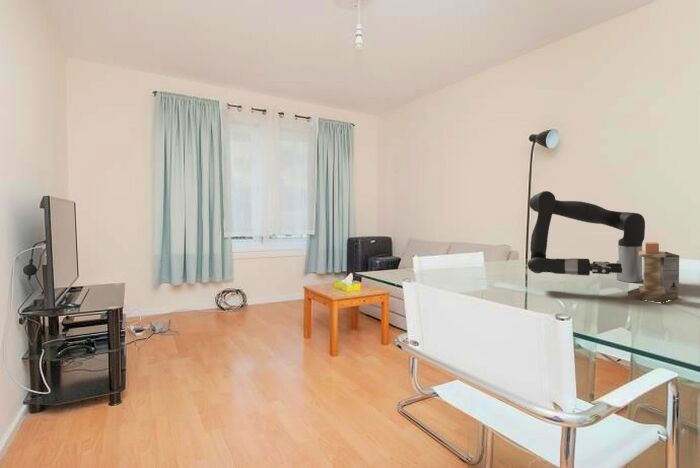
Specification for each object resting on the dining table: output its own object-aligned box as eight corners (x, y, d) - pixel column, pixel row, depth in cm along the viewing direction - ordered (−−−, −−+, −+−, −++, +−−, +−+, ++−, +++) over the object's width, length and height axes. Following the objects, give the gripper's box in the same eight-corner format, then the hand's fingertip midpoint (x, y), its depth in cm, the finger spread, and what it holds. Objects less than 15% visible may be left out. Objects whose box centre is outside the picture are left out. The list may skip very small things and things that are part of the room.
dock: (627, 297, 154) (627, 290, 154) (643, 292, 159) (643, 285, 159) (661, 304, 143) (661, 296, 143) (677, 298, 148) (677, 291, 148)
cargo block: (646, 253, 149) (645, 243, 148) (645, 251, 152) (645, 242, 151) (658, 253, 146) (658, 243, 146) (657, 252, 150) (657, 242, 149)
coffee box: (649, 287, 165) (649, 252, 164) (666, 286, 164) (666, 251, 163) (662, 292, 157) (662, 255, 155) (680, 292, 155) (680, 255, 154)
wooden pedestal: (640, 292, 150) (640, 254, 148) (638, 287, 156) (638, 251, 155) (665, 294, 145) (665, 254, 144) (663, 289, 152) (663, 251, 150)
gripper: (575, 261, 159) (622, 262, 149) (577, 255, 170) (621, 256, 161) (576, 278, 159) (622, 280, 150) (578, 271, 171) (621, 273, 162)
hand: (621, 268), depth 156 cm, fingers open, 8 cm apart
